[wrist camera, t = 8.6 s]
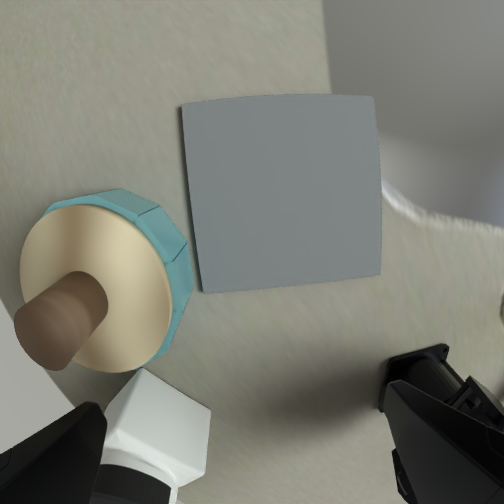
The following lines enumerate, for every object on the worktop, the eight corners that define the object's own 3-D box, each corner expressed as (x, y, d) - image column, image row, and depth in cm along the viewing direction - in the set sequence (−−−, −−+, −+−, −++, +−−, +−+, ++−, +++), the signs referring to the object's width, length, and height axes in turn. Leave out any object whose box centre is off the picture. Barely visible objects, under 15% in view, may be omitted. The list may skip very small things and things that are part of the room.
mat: (370, 97, 16) (373, 96, 16) (378, 273, 19) (380, 275, 19) (182, 106, 16) (181, 104, 16) (204, 291, 19) (203, 293, 19)
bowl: (179, 179, 17) (162, 182, 13) (203, 335, 20) (196, 369, 16) (44, 205, 17) (10, 214, 13) (77, 337, 20) (55, 364, 16)
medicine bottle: (108, 403, 22) (63, 503, 11) (142, 364, 21) (90, 487, 9) (170, 441, 24) (150, 542, 12) (213, 409, 22) (201, 533, 11)
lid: (154, 188, 14) (105, 200, 8) (189, 362, 16) (172, 432, 11) (14, 219, 14) (-48, 241, 8) (57, 359, 16) (20, 407, 11)
